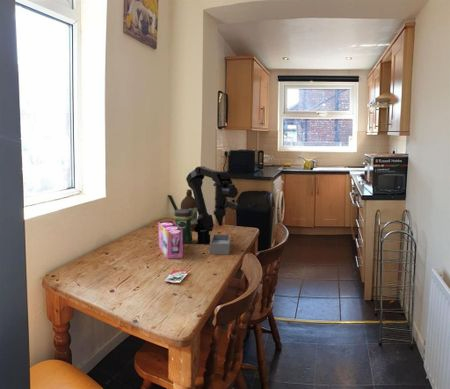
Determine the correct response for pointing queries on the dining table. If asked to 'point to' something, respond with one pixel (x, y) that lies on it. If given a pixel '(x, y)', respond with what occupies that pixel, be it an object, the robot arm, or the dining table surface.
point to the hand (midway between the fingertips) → (220, 225)
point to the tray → (220, 244)
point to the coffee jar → (184, 223)
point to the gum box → (170, 239)
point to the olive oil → (190, 207)
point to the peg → (221, 228)
